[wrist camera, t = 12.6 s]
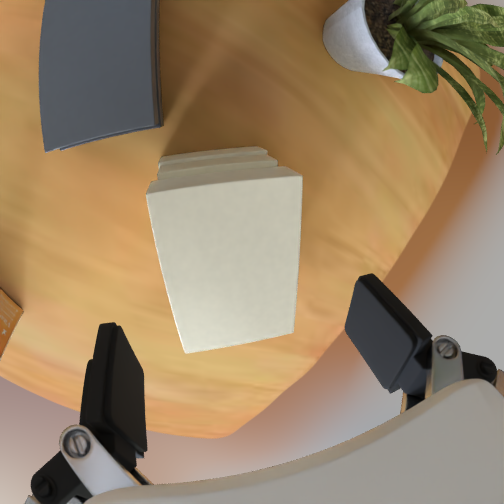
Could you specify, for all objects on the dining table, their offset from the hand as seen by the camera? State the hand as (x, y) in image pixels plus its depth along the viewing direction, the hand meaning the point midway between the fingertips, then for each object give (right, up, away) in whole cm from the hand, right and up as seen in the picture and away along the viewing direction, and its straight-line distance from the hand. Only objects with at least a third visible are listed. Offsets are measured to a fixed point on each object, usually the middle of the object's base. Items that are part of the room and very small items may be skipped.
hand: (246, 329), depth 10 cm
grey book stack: (-9, +15, +2) cm, 17 cm away
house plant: (+7, +17, +5) cm, 20 cm away
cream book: (-1, +3, +6) cm, 6 cm away
